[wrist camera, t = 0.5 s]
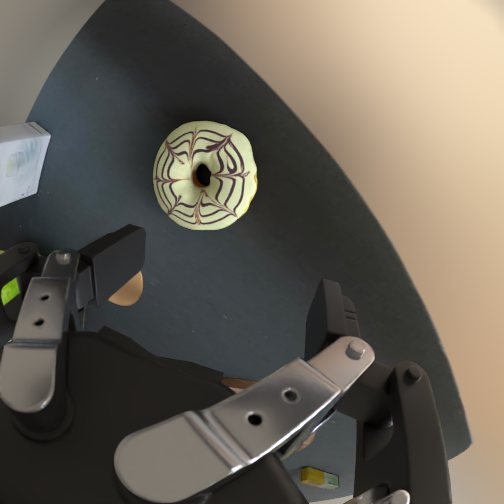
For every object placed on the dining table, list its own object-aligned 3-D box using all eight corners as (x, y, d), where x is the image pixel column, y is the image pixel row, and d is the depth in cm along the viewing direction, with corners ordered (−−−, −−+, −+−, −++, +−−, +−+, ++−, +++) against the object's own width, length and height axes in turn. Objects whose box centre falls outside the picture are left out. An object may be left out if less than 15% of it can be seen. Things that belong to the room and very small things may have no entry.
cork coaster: (92, 228, 33) (90, 229, 33) (149, 259, 33) (147, 261, 32) (87, 284, 37) (86, 285, 37) (138, 315, 37) (136, 316, 37)
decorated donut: (259, 119, 24) (253, 116, 21) (260, 224, 28) (254, 236, 25) (163, 127, 26) (145, 127, 23) (169, 222, 30) (153, 232, 27)
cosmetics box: (38, 194, 33) (-12, 213, 23) (21, 177, 33) (-26, 192, 23) (53, 134, 29) (-4, 143, 19) (34, 120, 28) (-18, 127, 19)
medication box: (339, 475, 49) (340, 487, 45) (331, 478, 50) (331, 490, 46) (308, 466, 47) (308, 479, 43) (299, 469, 48) (299, 482, 44)
